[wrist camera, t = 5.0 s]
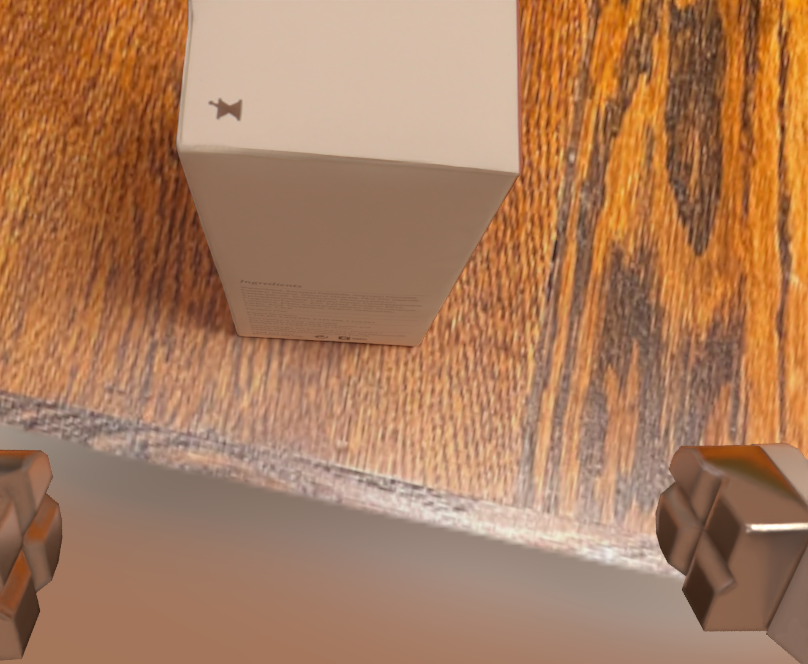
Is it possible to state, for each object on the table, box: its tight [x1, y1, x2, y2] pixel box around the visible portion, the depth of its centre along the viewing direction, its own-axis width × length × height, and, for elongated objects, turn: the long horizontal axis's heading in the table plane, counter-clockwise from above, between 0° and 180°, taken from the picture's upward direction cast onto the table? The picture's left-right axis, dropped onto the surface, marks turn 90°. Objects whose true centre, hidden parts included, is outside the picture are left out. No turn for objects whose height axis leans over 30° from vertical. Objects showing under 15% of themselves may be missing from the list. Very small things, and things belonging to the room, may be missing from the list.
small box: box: [176, 0, 522, 346], centre depth 20 cm, size 8×6×13 cm
